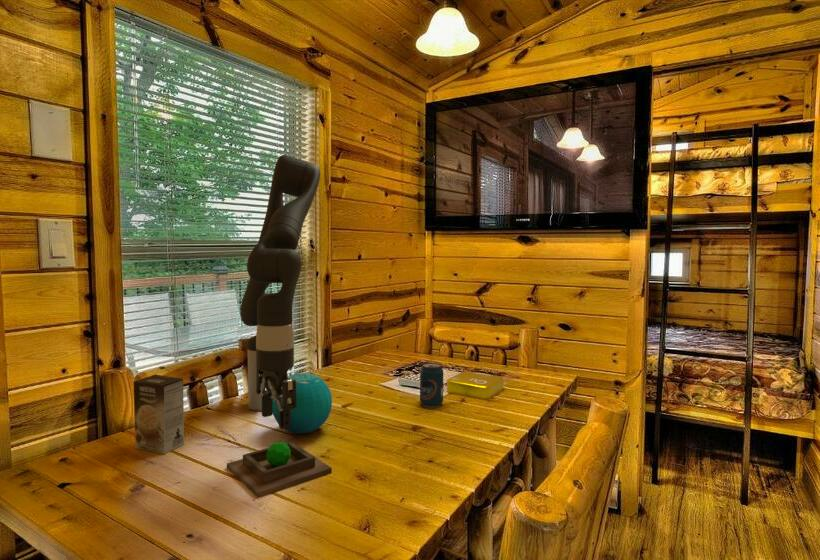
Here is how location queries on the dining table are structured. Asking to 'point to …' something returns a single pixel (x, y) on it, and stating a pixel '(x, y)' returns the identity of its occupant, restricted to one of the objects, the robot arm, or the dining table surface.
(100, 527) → the dining table surface
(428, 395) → the soda can
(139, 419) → the coffee box
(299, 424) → the decorative orb
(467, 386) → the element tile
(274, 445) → the polyhedron
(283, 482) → the tray
